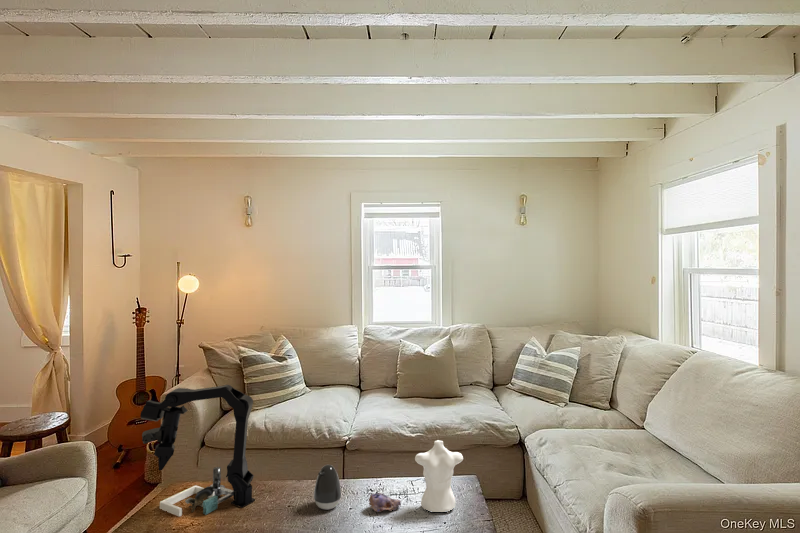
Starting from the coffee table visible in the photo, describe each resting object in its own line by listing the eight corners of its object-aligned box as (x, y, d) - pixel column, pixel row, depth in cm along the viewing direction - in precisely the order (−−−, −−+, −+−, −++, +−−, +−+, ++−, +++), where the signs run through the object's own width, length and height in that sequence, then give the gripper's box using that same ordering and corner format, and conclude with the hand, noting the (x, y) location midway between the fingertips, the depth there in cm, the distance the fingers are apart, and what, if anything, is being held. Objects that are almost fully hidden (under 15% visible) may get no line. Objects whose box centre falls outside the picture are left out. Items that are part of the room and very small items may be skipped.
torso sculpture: (459, 500, 169) (459, 434, 170) (465, 513, 159) (465, 444, 160) (412, 501, 167) (413, 435, 168) (415, 515, 158) (416, 445, 158)
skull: (400, 504, 166) (400, 487, 166) (402, 514, 158) (402, 497, 159) (368, 505, 165) (368, 489, 165) (369, 516, 157) (369, 499, 157)
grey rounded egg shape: (307, 509, 162) (308, 467, 162) (324, 497, 171) (325, 457, 171) (329, 516, 157) (330, 473, 157) (346, 503, 166) (346, 462, 167)
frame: (214, 498, 169) (214, 491, 170) (179, 516, 156) (179, 509, 156) (195, 491, 175) (195, 485, 175) (159, 508, 161) (159, 501, 162)
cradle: (225, 492, 174) (225, 485, 174) (214, 498, 170) (214, 490, 170) (221, 491, 175) (221, 484, 175) (211, 496, 170) (211, 489, 171)
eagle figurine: (206, 510, 158) (218, 494, 167) (194, 495, 158) (207, 479, 166) (190, 520, 159) (203, 503, 168) (179, 504, 159) (192, 488, 168)
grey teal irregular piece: (236, 497, 169) (237, 472, 170) (206, 514, 157) (206, 487, 157) (214, 490, 175) (214, 465, 176) (182, 505, 163) (183, 479, 163)
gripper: (149, 413, 171) (140, 453, 170) (143, 431, 153) (133, 476, 153) (180, 414, 175) (172, 454, 174) (177, 432, 158) (168, 476, 157)
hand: (161, 464), depth 165 cm, fingers open, 9 cm apart
